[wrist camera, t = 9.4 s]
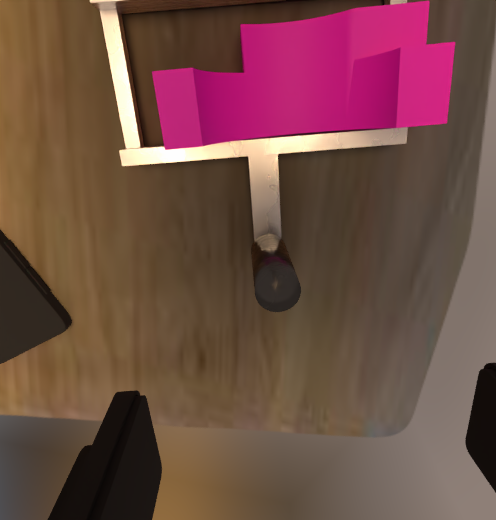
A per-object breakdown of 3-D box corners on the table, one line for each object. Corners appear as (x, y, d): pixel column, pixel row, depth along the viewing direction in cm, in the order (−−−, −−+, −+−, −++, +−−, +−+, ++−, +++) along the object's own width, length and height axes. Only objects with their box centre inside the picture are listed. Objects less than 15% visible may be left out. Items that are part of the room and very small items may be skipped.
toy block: (395, 22, 24) (461, -20, 17) (390, 123, 26) (446, 123, 19) (170, 44, 24) (142, 12, 17) (184, 142, 26) (165, 150, 19)
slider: (102, -4, 22) (26, -74, 14) (402, -29, 22) (493, -113, 14) (152, 268, 29) (119, 324, 21) (384, 250, 29) (439, 299, 21)
